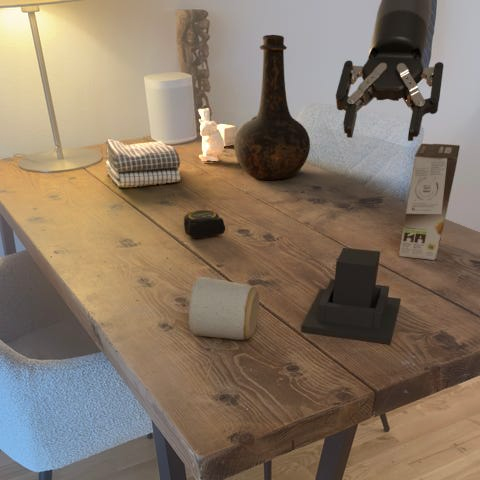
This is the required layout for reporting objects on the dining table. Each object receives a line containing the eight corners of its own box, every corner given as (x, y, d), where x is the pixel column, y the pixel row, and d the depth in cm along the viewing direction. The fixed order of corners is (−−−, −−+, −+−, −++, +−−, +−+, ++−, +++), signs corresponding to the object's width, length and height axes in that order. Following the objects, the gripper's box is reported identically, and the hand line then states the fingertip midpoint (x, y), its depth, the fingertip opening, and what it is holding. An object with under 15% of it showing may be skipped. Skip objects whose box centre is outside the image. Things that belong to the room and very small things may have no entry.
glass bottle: (286, 162, 146) (290, 29, 128) (322, 179, 133) (332, 35, 115) (223, 171, 140) (218, 34, 122) (254, 190, 127) (254, 40, 110)
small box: (238, 144, 161) (237, 125, 158) (224, 148, 158) (223, 128, 155) (223, 141, 164) (223, 122, 161) (210, 145, 161) (209, 126, 158)
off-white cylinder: (249, 351, 73) (249, 296, 68) (189, 345, 75) (185, 290, 70) (265, 314, 81) (266, 263, 77) (210, 309, 83) (207, 259, 78)
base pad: (399, 304, 83) (403, 282, 80) (390, 345, 74) (394, 321, 72) (319, 294, 86) (321, 272, 84) (301, 332, 77) (302, 308, 75)
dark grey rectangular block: (372, 305, 80) (380, 251, 75) (367, 322, 77) (375, 265, 72) (337, 301, 82) (343, 247, 77) (331, 317, 78) (336, 261, 73)
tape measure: (190, 244, 103) (188, 223, 100) (180, 231, 108) (179, 211, 105) (225, 238, 104) (225, 218, 102) (215, 226, 110) (214, 206, 107)
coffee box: (436, 261, 95) (457, 158, 85) (397, 257, 96) (414, 155, 86) (440, 241, 101) (460, 144, 91) (404, 238, 103) (420, 142, 93)
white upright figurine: (192, 158, 150) (189, 107, 142) (216, 155, 152) (214, 105, 144) (203, 166, 144) (201, 113, 136) (228, 163, 146) (226, 110, 138)
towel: (119, 192, 128) (114, 155, 123) (105, 172, 141) (100, 137, 136) (184, 184, 132) (181, 147, 127) (164, 165, 145) (161, 131, 140)
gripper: (349, 8, 79) (327, 116, 77) (456, 7, 75) (434, 121, 74) (352, 49, 86) (331, 149, 85) (449, 50, 82) (429, 154, 81)
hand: (379, 135), depth 79 cm, fingers open, 8 cm apart
